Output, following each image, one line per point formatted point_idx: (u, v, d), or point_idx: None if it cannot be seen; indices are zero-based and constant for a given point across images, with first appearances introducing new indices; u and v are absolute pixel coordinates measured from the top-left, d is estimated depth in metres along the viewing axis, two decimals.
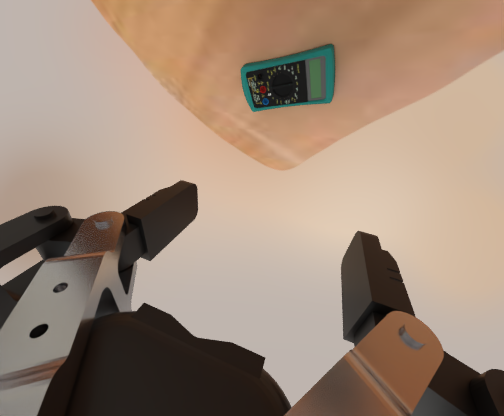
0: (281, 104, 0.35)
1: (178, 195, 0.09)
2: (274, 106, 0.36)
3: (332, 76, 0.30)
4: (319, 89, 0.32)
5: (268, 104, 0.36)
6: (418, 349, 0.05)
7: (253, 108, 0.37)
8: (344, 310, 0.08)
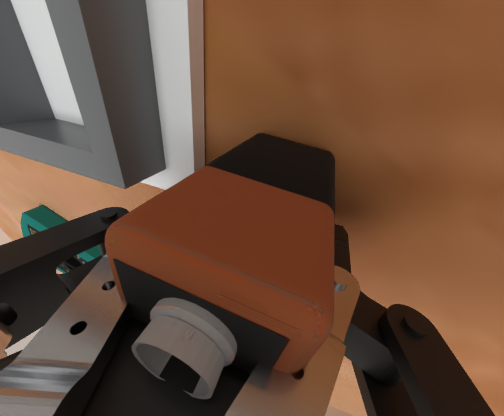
0: None
1: None
2: (64, 272, 0.24)
3: None
4: None
5: None
6: (339, 289, 0.06)
7: None
8: None
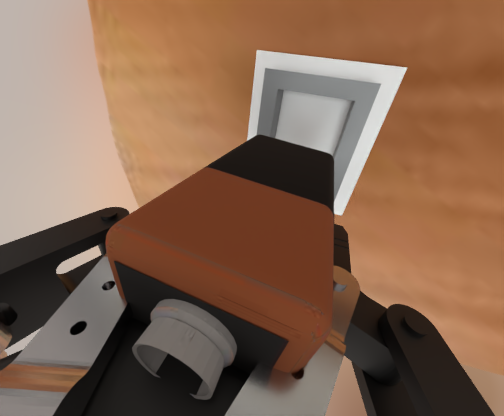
0: None
1: None
2: None
3: None
4: None
5: None
6: (339, 289, 0.06)
7: None
8: None
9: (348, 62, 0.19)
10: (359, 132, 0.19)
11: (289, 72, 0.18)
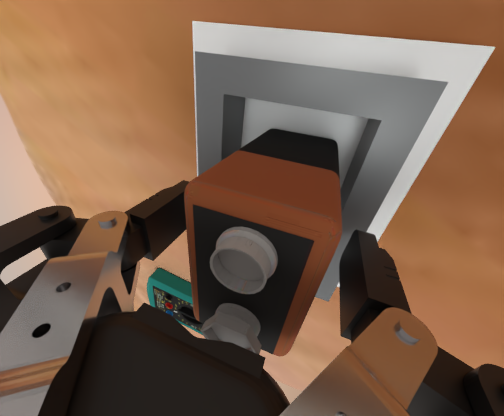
0: (186, 324, 0.28)
1: (181, 195, 0.09)
2: (178, 321, 0.29)
3: None
4: None
5: None
6: (412, 344, 0.05)
7: None
8: (341, 307, 0.08)
9: (365, 39, 0.09)
10: (388, 182, 0.09)
11: (242, 59, 0.09)
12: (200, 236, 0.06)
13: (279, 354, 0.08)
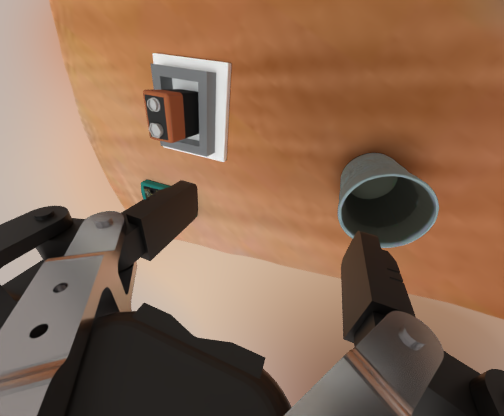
0: None
1: (178, 195, 0.09)
2: None
3: None
4: None
5: None
6: (418, 349, 0.05)
7: None
8: (344, 310, 0.08)
9: (199, 60, 0.33)
10: (205, 100, 0.32)
11: (163, 66, 0.32)
12: (146, 102, 0.29)
13: (169, 140, 0.31)
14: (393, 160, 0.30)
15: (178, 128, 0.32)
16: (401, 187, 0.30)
